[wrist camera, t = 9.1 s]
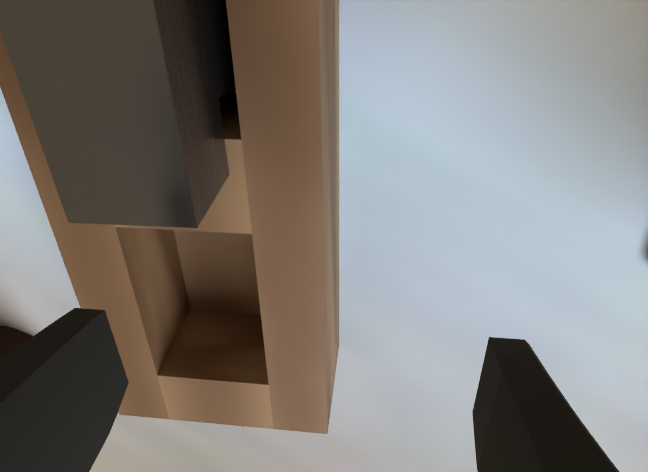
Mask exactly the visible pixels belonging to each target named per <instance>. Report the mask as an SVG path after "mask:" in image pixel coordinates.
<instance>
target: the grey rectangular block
mask: <svg viewBox="0 0 648 472" xmlns="http://www.w3.org/2000/svg"><path fill="white" fill-rule="evenodd" d="M0 31H1V34H2V37H3V39H4V42H5V45H6V48H7V51H8V53H9V56H10V59H11V62H12V65H13V68H14V70H15V73H16V76H17V79H18V82H19V85H20V87H21V90H22V93H23V96H24V99H25V102H26V104H27V107H28V110H29V113H30V116H31V118H32V121H33V124H34V127H35V130H36V133H37V135H38V138H39V141H40V144H41V147H42V150H43V152H44V155H45V158H46V161H47V164H48V166H49V169H50V172H51V175H52V178H53V181H54V183H55V186H56V189H57V192H58V195H59V198H60V200H61V203H62V206H63V209H64V212H65V215H66V217H67V220H68V223H83V224H108V225H133V226H157V227H182V228H198V226H199V225H200V223H201V221H202V220H203V218H204V216H205V215H206V213H207V211H208V210H209V208H210V206H211V205H212V203H213V201H214V200H215V198H216V196H217V195H218V193H219V191H220V190H221V188H222V186H223V185H224V183H225V181H226V180H227V178H228V176H229V175H230V174H229V167H228V160H227V153H226V146H225V139H224V132H223V125H222V118H221V111H220V104H219V98H220V97H221V96H222V95H223V94H224V92H225V91H226V90H227V89H228V88H229V87H230V86H231V84H232V83H233V82H234V81H235V77H234V68H233V59H232V50H231V41H230V32H229V23H228V14H227V5H226V0H0Z"/></svg>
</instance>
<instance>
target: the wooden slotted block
mask: <svg viewBox="0 0 648 472" xmlns="http://www.w3.org/2000/svg"><path fill="white" fill-rule="evenodd" d="M226 5H227V14H228V23H229V32H230V41H231V50H232V59H233V68H234V77H235V81H234V82H233V83H232V84H231V86H230V87H229V88H228V89H227V90H226V91H225V92H224V94H223V95H222V96H221V97H220V98H219V104H220V111H221V118H222V125H223V132H224V139H225V146H226V153H227V160H228V167H229V174H230V175H229V176H228V178H227V180H226V181H225V183H224V185H223V186H222V188H221V190H220V191H219V193H218V195H217V196H216V198H215V200H214V201H213V203H212V205H211V206H210V208H209V210H208V211H207V213H206V215H205V216H204V218H203V220H202V221H201V223H200V225H199V226H198V228H182V227H157V226H133V225H108V224H83V223H68V220H67V217H66V215H65V212H64V209H63V206H62V203H61V200H60V198H59V195H58V192H57V189H56V186H55V183H54V181H53V178H52V175H51V172H50V169H49V166H48V164H47V161H46V158H45V155H44V152H43V150H42V147H41V144H40V141H39V138H38V135H37V133H36V130H35V127H34V124H33V121H32V118H31V116H30V113H29V110H28V107H27V104H26V102H25V99H24V96H23V93H22V90H21V87H20V85H19V82H18V79H17V76H16V73H15V70H14V68H13V65H12V62H11V59H10V56H9V53H8V51H7V48H6V45H5V42H4V39H3V37H2V34H1V31H0V87H1V90H2V93H3V95H4V98H5V101H6V104H7V106H8V109H9V112H10V115H11V117H12V120H13V123H14V126H15V128H16V131H17V134H18V137H19V139H20V142H21V145H22V148H23V150H24V153H25V156H26V159H27V161H28V164H29V167H30V170H31V172H32V175H33V178H34V181H35V183H36V186H37V189H38V192H39V194H40V197H41V200H42V203H43V205H44V208H45V211H46V214H47V216H48V219H49V222H50V225H51V228H52V230H53V233H54V236H55V239H56V241H57V244H58V247H59V250H60V252H61V255H62V258H63V261H64V263H65V266H66V269H67V272H68V274H69V277H70V280H71V283H72V285H73V288H74V291H75V294H76V296H77V299H78V302H79V305H80V307H81V308H83V309H97V310H105V312H106V315H107V318H108V321H109V324H110V327H111V330H112V333H113V336H114V339H115V342H116V345H117V348H118V351H119V354H120V357H121V360H122V363H123V367H124V370H125V373H126V376H127V379H128V382H129V384H128V386H127V389H126V392H125V394H124V397H123V400H122V403H121V405H120V408H119V411H118V412H119V415H130V416H141V417H152V418H162V419H173V420H184V421H194V422H205V423H216V424H226V425H237V426H248V427H258V428H269V429H280V430H290V431H301V432H312V433H322V434H327V432H328V425H329V417H330V409H331V402H332V394H333V386H334V379H335V371H336V363H337V356H338V348H339V0H226Z"/></svg>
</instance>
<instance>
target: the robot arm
mask: <svg viewBox="0 0 648 472" xmlns="http://www.w3.org/2000/svg"><path fill="white" fill-rule="evenodd" d="M128 384H129V382H128V379H127V376H126V373H125V370H124V367H123V363H122V360H121V357H120V354H119V351H118V348H117V345H116V342H115V339H114V336H113V333H112V330H111V327H110V324H109V321H108V318H107V315H106V312H105V310H97V309H83V308H74V309H73V310H71V311H70V312H68V313H67V314H65V315H64V316H62V317H61V318H59V319H58V320H56V321H55V322H53V323H52V324H50V325H49V326H48V327H46V328H45V329H43V330H42V331H40V332H39V333H38V334H36V335H35V336H33V337H32V338H31V339H29V340H28V341H26V342H25V343H24V344H22V345H21V346H19V347H18V348H17V349H15V350H14V351H12V352H11V353H10V354H8V355H7V356H5V357H4V358H3V359H1V360H0V472H89V471H90V469H91V467H92V465H93V463H94V461H95V460H96V458H97V456H98V454H99V452H100V450H101V448H102V446H103V444H104V442H105V441H106V439H107V437H108V435H109V433H110V430H111V428H112V426H113V423H114V421H115V418H116V416H117V413H118V411H119V408H120V405H121V403H122V400H123V397H124V394H125V392H126V389H127V386H128ZM473 424H474V437H475V450H476V461H477V470H478V472H619V471H618V469H617V468H616V467H615V466H614V464H613V463H612V462H611V461H610V459H609V458H608V457H607V455H606V454H605V453H604V451H603V450H602V449H601V447H600V446H599V444H598V443H597V442H596V440H595V439H594V438H593V436H592V435H591V434H590V432H589V431H588V430H587V428H586V427H585V426H584V424H583V423H582V422H581V420H580V419H579V417H578V416H577V415H576V413H575V412H574V411H573V409H572V408H571V406H570V405H569V403H568V402H567V400H566V399H565V398H564V396H563V395H562V393H561V392H560V390H559V389H558V387H557V386H556V384H555V383H554V382H553V380H552V379H551V377H550V376H549V374H548V373H547V371H546V370H545V368H544V367H543V365H542V363H541V362H540V360H539V359H538V357H537V356H536V354H535V353H534V351H533V350H532V348H531V346H530V345H529V344H528V343H527V342H526V341H525V340H520V339H506V338H492V337H489V340H488V345H487V349H486V354H485V358H484V363H483V367H482V372H481V376H480V381H479V386H478V390H477V395H476V399H475V404H474V408H473Z"/></svg>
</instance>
